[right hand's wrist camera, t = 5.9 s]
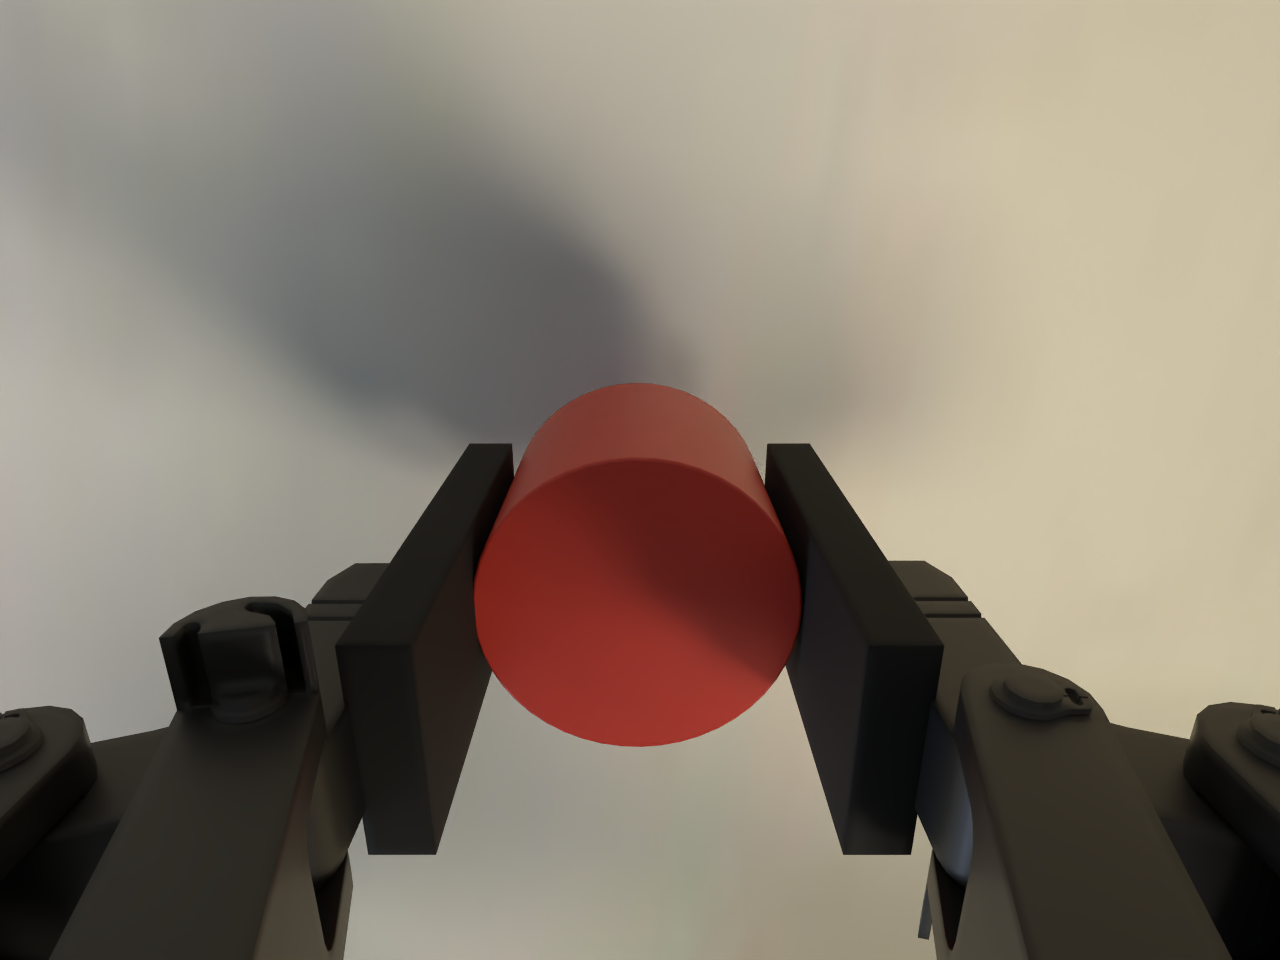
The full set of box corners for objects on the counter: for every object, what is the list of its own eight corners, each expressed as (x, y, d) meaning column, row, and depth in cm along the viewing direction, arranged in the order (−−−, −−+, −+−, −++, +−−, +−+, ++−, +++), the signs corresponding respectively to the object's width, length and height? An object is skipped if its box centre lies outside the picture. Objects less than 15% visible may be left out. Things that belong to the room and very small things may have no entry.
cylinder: (810, 476, 14) (871, 581, 10) (662, 648, 16) (670, 796, 12) (608, 330, 13) (596, 388, 10) (469, 526, 15) (409, 645, 11)
